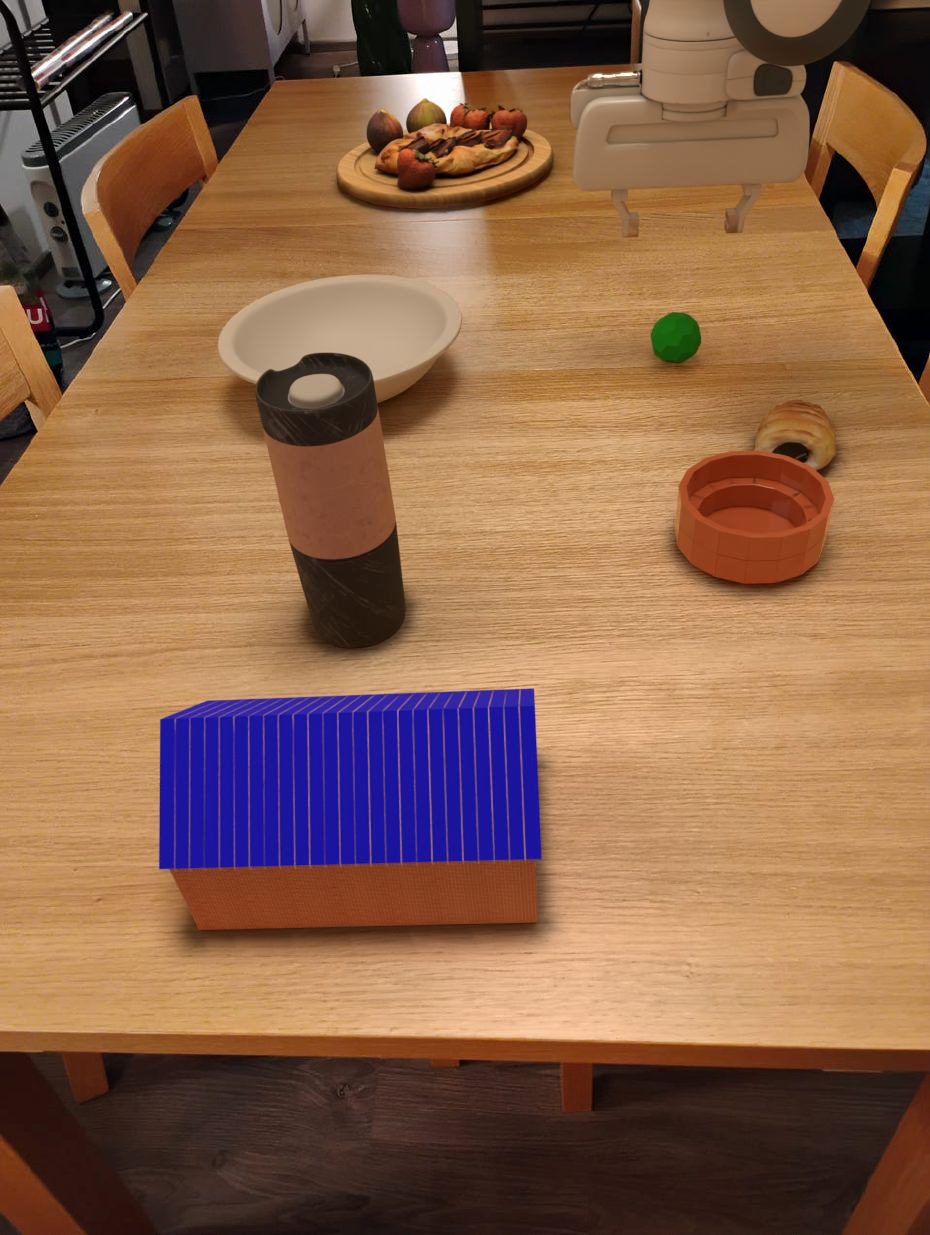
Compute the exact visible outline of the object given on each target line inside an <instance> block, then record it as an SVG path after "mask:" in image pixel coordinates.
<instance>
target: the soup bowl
mask: <svg viewBox="0 0 930 1235" xmlns="http://www.w3.org/2000/svg"><path fill="white" fill-rule="evenodd" d="M462 323H463V316H462V312H461V309H460V306H459V305H458V303H457V301H455V299H454V298H453V297H452V296H451V295H450V294H449V293H447V292H445V291H444V290H443V289H441V288H440V287H437V286H436V285H433V284H430V283H428V282H424V281H422V280H418V279H415V278H410V277H404V276H399V275H389V274H373V273H372V274H371V273H369V274H367V273H366V274H365V273H364V274H347V275H345V274H344V275H338V276H337V275H336V276H330V277H324V278H318V279H314V280H308V281H304V282H300V283H296V284H294V285H289V286H287V287H283V288H281V289H278V290H275V291H272V292H271V293H268V294H266V295H264V296H262V297H260V298H257V299H256V300H254V301H252V302H250V303H249V304H247V305H246V306H244V307H243V308H242V309H240V310H238V311H237V312H236V313H235V314H234V315H233V316H232V317H231V318H230V319H229V320H228V321H227V322H226V323H225V325H224V326H223V327H222V329H221V330H220V333H219V335H218V340H217V352H218V355H219V358H220V360H221V362H222V364H223V365H224V366H225V368H227V369H228V370H229V371H230V372H231V373H233V374H234V375H235V376H237V377H238V378H240V379H242V380H244V381H246V382H249V383H250V384H251V383H252V384H254V385H256V383H257V381H258V379H259V378H260V377H261V375H262V374H263V373H264V372H266V371H267V370H269V369H273V370H275V371H280V370H284V369H287V368H290V367H292V366H294V365H296V364H297V363H298V362H299V361H300V360H301V358H302V357H303V356H305V355H308V354H313V353H341V354H346V355H350V356H354V357H356V358H358V359H360V360H362V361H364V362H365V363H366V364H367V365H368V366H369V368H370V370H371V372H372V375H373V380H374V386H375V392H376V398H377V404H380V403H382V402H384V401H388V400H389V399H392V398H394V397H395V396H398V395H400V394H401V393H403V392H405V391H406V390H408V389H410V387H412V386H413V385H415V384H416V383H417V382H418V381H419V380H420V379H422V378H423V377H424V375H425V374H426V373H427V372H428V371H429V370H430V369H431V368H432V367H433V365H434V364H435V362H437V359H438V358H439V357H441V355H443V354H444V353H445V352H446V351H447V350H448V349H450V347H451V346H452V345H453V344H454V342H455V341H456V340H457V338H458V337H459V334H460V332H461V329H462Z"/></svg>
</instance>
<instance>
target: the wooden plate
mask: <svg viewBox="0 0 930 1235" xmlns="http://www.w3.org/2000/svg"><path fill="white" fill-rule="evenodd" d="M497 108H498V110H497V111H495V110H491V112H490V113H489V112H488V111H486V110H487V106H485V105H484V106H483V107H481V108H478V107H474V108H473V109H469V107H468V102H463V103H462V102H459V104H458V105H457V106H455V107H454V108H453V110H451V113H450V115H449V122H447V121H448V120H447V116H446V113H445V111H444V110H443V109H442V107H441V106H439V105H438V104H437V103H435V102H434V101H430V100H429V99H427V98H423V99H422V100H420V101H419V102H418V103H416V104H415V105H414V106H413V107H412V108H411V109H410V111H409V112H408V114H407V116H406V119H405V120H406V121H405V127H406V128H405V129H404V128H403V126H402V124H401V122H400V121H399V119H398V118H397V117H396V116H395V115H394V114H393V113H391V112H390V111H387V110H386V109H385V108H383V107H382V108H380V109H379V110H377V111H376V112H375V113H374V114H373V115H372V116H371V117H370V118H369V120H368V122H367V126H366V140H367V141H366V142H363V143H362V144H359V145H358V146H355V147H354V148H353V149H351V150H350V151H349V152H347V153H346V154H344V155H343V157H342V158H341V159H340V161H339V162H338V163H337V166H336V173H335V176H336V179H337V182H338V184H339V186H340V188H341V189H342V190H343V191H345V193H347V194H348V195H350V196H352V197H353V198H356V199H358V200H360V201H364V202H366V203H369V204H374V205H377V206H379V205H380V206H384V207H391V208H402V209H435V208H437V209H438V208H449V207H459V206H465V205H471V204H472V205H473V204H477V203H481V202H482V203H483V202H487V201H490V200H491V201H492V200H494V199H498V198H501V197H504V196H505V197H506V196H508V195H510V194H513V193H515V192H518V191H521V190H523V189H525V188H528V187H529V186H531V185H533V184H535V183H536V182H538V181H539V180H540V179H541V178H543V177H544V176H545V175H546V174H547V173H548V171H549V170H550V168H551V167H552V165H553V163H554V159H555V158H554V150H553V147H552V145H551V143H550V142H549V141H548V139H547V138H545V137H544V136H543V135H540V134H539V133H537V132H535V131H532V130H530V129H528V116H527V115H526V114H525V113H524V111H523V110H522V109H520V108H519V107H516V108H512V109H509V110H506V108H505V107H503V105H499V104H497Z"/></svg>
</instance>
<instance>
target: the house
mask: <svg viewBox="0 0 930 1235" xmlns="http://www.w3.org/2000/svg"><path fill="white" fill-rule="evenodd" d="M535 699H536V697H535V688H534V687H533V688H532V687H531V688H508V689H479V690H454V691H453V690H450V691H430V692H429V691H427V692H426V691H425V692H400V693H398V692H397V693H396V692H395V693H374V694H349V695H348V694H346V695H321V696H319V695H318V696H317V695H316V696H291V697H272V698H271V697H268V698H241V699H239V698H238V699H237V698H236V699H214V700H211V699H210V700H205V701H203V702H200V703H198V704H195V705H192V706H190V707H187V708H185V709H183V710H180V711H177V712H175V713H173V714H170V715H166V716H165V717H162V718H159V811H158V812H159V816H158V817H159V820H158V821H159V822H158V824H159V826H158V827H159V829H158V830H159V831H158V832H159V833H158V843H159V844H158V870H169V871H170V873H171V875H172V878H173V880H174V881H175V884H176V886H177V888H178V890H179V892H180V894H181V896H182V898H183V901H184V902H185V905H186V906H187V908H188V911H189V912H190V914H191V917H192V918H193V921H194V923H195V926H196V928H197V929H198V930H199V931H207V930H208V931H209V930H211V931H213V930H214V931H215V930H252V929H253V930H254V929H257V930H258V929H298V928H299V929H301V928H302V929H303V928H342V927H344V928H347V927H349V928H351V927H389V926H390V927H391V926H393V927H394V926H429V925H430V926H431V925H432V926H434V925H435V926H436V925H438V926H439V925H479V924H481V925H482V924H484V925H485V924H522V923H523V924H525V923H527V924H529V923H539V911H538V888H537V887H538V885H537V882H538V881H537V860H542V840H541V839H542V837H541V815H540V814H541V813H540V790H539V769H538V748H537V747H538V746H537V745H538V744H537V743H538V742H537V723H536V722H537V721H536V719H537V718H536V700H535Z"/></svg>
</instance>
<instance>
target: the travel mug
mask: <svg viewBox="0 0 930 1235" xmlns="http://www.w3.org/2000/svg"><path fill="white" fill-rule="evenodd" d="M254 395H255V401H256V405H257V409H258V414H259V417H260V418H259V419H260V421H261V427H262V431H263V436H264V439H265V440H264V441H265V444H266V449H267V452H268V457H269V460H270V465H271V469H272V474H273V478H274V479H273V480H274V483H275V487H276V492H277V496H278V501H279V504H280V509H281V513H282V517H283V523H284V526H285V530H286V535H287V538H288V542H289V546H290V550H291V552H292V556H293V560H294V564H295V567H296V570H297V574H298V577H299V578H298V579H299V581H300V583H301V588H302V591H303V595H304V598H305V602H306V606H307V609H308V613H309V616H310V619H311V622H312V626H313V628H314V630H315V632H316V634H317V635H318V636H319V637H320V638H321V639H322V640H324V641H325V642H326V643H329V644H331V645H333V646H336V647H340V648H347V649H355V648H356V649H357V648H364V647H365V648H366V647H369V646H374V645H376V644H378V643H380V642H383V641H385V640H386V639H388V638H390V637H391V636H393V634H394V633H396V632H397V631H398V629H400V627H401V625H402V623H403V622H404V620H405V616H406V599H405V598H406V597H405V589H404V581H403V572H402V571H403V570H402V562H401V553H400V544H399V536H398V535H399V534H398V526H397V517H396V510H395V505H394V504H395V503H394V498H393V493H392V487H391V480H390V479H391V478H390V473H389V468H388V462H387V461H388V460H387V456H386V448H385V442H384V436H383V430H382V423H381V418H380V411H379V405H378V404H379V403H377V398H376V392H375V386H374V380H373V375H372V372H371V370H370V368H369V366H368V365H367V364H366V363H365V362H364V361H362V360H360V359H358V358H356V357H354V356H350V355H346V354H341V353H313V354H308V355H305V356H303V357H302V358H301V360H300V361H299V362H298V363H297V364H296V365H294V366H292V367H290V368H287V369H284V370H280V371H275V370H273V369H269V370H267V371H266V372H264V373H263V374H262V375H261V377H260V378H259V379H258V381H257V383H256V384H255V387H254Z"/></svg>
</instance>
